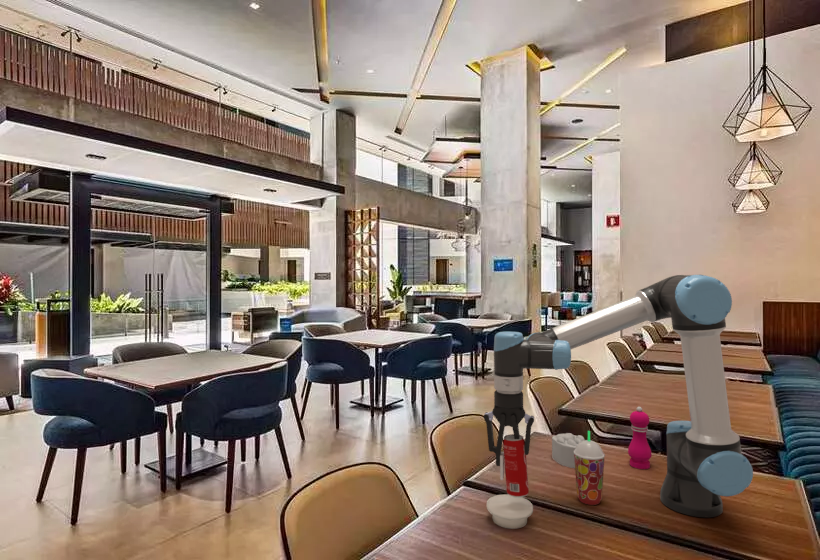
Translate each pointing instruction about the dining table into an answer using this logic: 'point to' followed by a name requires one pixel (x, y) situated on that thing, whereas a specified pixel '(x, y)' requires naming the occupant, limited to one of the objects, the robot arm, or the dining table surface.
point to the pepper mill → (639, 440)
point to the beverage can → (515, 466)
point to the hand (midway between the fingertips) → (509, 478)
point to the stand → (509, 510)
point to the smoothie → (589, 471)
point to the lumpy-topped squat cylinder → (565, 448)
